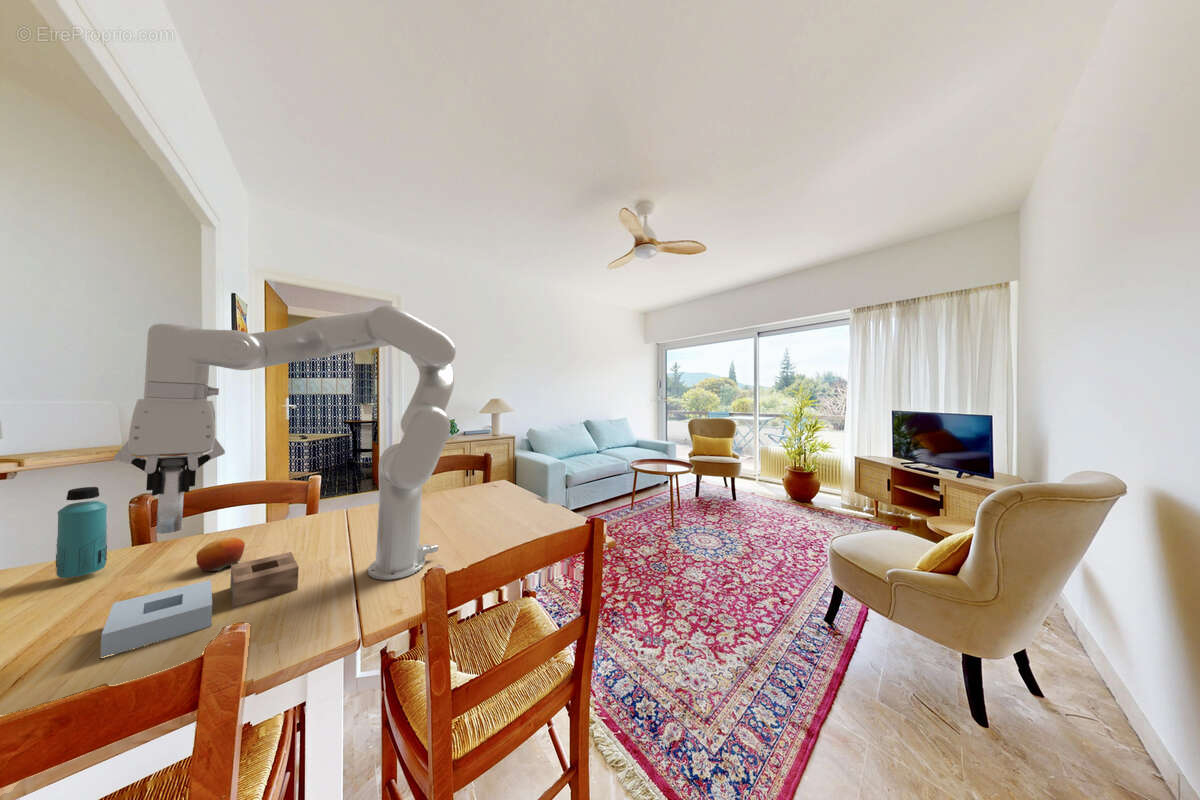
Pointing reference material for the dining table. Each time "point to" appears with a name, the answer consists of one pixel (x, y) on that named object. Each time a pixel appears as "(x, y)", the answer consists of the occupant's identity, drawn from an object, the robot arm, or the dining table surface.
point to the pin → (170, 493)
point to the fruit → (220, 554)
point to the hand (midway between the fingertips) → (171, 491)
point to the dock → (157, 617)
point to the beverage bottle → (81, 535)
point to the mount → (263, 578)
